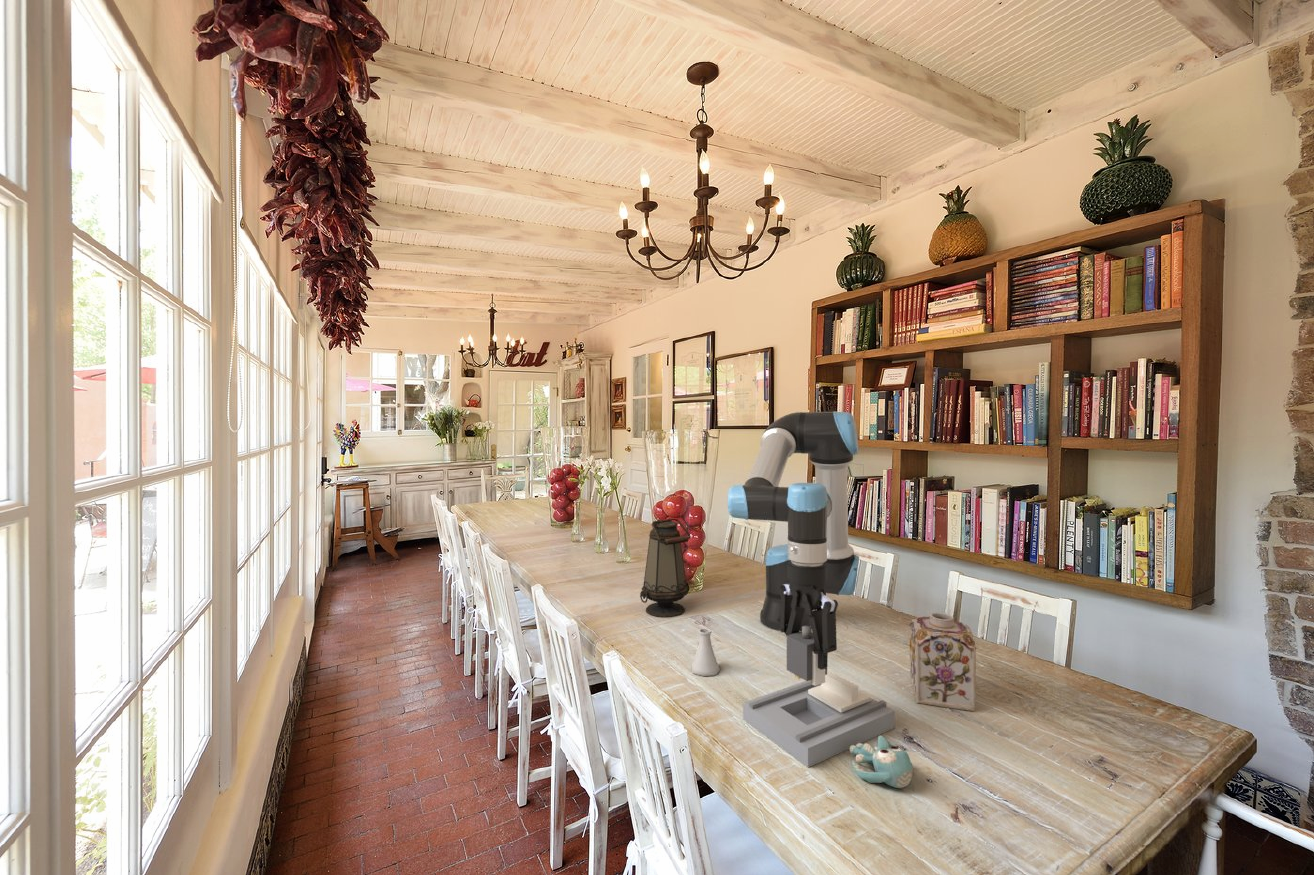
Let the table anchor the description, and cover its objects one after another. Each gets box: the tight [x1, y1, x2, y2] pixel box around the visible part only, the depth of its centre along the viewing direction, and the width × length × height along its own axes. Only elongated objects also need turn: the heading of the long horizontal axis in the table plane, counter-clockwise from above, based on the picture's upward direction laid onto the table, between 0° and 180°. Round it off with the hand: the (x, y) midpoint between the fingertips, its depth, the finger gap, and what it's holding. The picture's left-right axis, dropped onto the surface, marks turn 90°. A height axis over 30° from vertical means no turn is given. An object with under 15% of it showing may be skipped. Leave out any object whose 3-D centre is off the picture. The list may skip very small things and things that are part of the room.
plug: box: [786, 626, 828, 682], centre depth 107 cm, size 6×6×10 cm
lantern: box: [639, 517, 691, 619], centre depth 175 cm, size 18×15×30 cm
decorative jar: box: [909, 611, 977, 712], centre depth 120 cm, size 12×12×18 cm
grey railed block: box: [742, 680, 896, 768], centre depth 109 cm, size 24×18×4 cm
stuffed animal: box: [849, 735, 913, 789], centre depth 94 cm, size 11×7×12 cm
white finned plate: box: [808, 669, 872, 713], centre depth 112 cm, size 9×9×4 cm
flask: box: [690, 627, 721, 677], centre depth 133 cm, size 7×7×10 cm
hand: (806, 676), depth 107 cm, fingers closed on plug, 5 cm apart
